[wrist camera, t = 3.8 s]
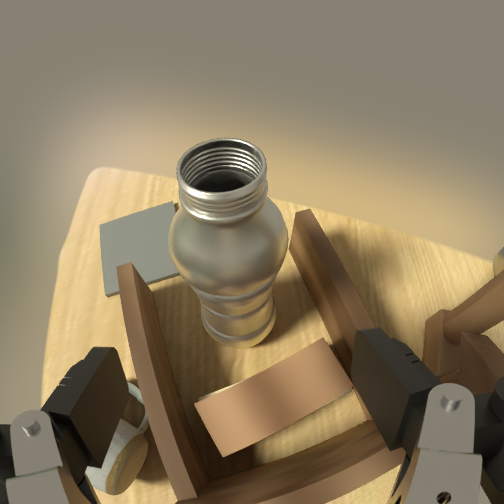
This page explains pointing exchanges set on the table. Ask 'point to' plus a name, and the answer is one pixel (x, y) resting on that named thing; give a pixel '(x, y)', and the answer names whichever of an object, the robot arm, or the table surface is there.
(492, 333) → the table surface
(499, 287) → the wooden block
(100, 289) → the table surface
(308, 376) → the tan rectangular block
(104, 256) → the slate mat
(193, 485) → the walnut rack
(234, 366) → the table surface
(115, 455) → the ceramic mug
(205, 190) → the silver bottle
